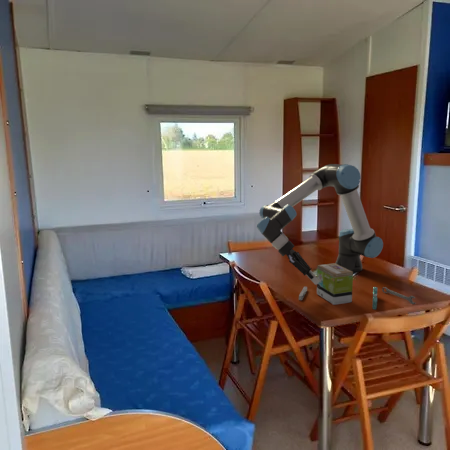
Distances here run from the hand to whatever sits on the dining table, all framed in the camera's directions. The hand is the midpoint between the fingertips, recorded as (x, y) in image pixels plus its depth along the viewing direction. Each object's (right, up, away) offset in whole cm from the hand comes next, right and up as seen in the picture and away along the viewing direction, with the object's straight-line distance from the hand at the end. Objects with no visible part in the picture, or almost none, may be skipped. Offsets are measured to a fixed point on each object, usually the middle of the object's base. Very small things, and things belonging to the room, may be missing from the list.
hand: (317, 282), depth 194 cm
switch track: (+10, -7, -2) cm, 12 cm away
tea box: (+7, -7, 0) cm, 10 cm away
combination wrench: (+37, -7, -1) cm, 38 cm away
